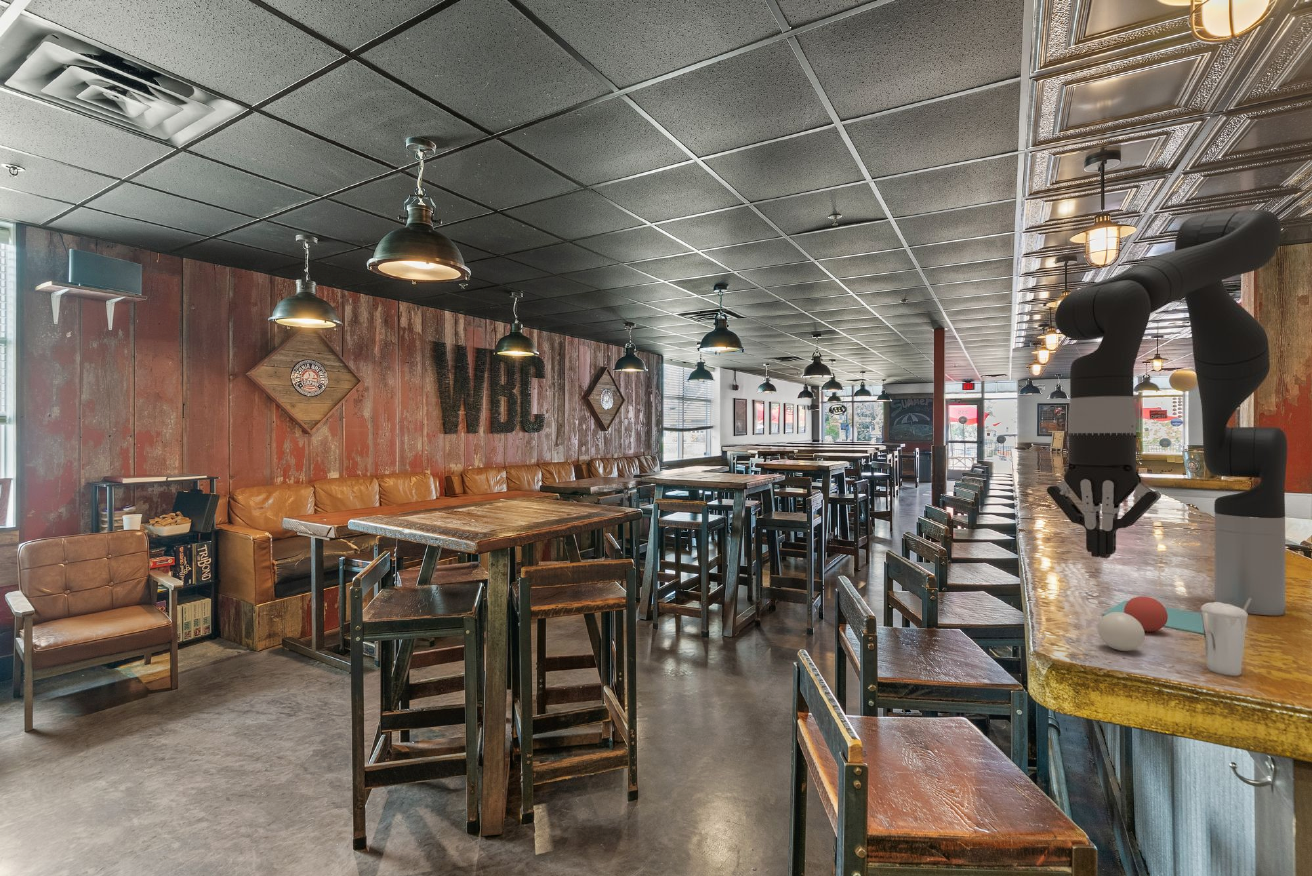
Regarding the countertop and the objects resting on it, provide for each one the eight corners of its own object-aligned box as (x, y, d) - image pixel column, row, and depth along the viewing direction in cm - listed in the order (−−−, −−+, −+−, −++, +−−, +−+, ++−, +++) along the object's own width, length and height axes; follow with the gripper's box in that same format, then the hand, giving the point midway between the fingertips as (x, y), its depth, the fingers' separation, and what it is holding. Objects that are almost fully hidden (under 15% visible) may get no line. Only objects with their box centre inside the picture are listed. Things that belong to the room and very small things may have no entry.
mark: (1124, 601, 115) (1124, 600, 115) (1224, 618, 104) (1224, 617, 104) (1102, 615, 106) (1102, 613, 106) (1209, 635, 95) (1209, 633, 95)
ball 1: (1108, 641, 92) (1108, 605, 92) (1151, 652, 87) (1151, 614, 87) (1090, 647, 90) (1090, 610, 90) (1133, 659, 85) (1133, 620, 85)
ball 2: (1133, 623, 101) (1133, 590, 101) (1174, 632, 96) (1174, 598, 96) (1117, 628, 98) (1117, 595, 98) (1158, 638, 94) (1158, 603, 94)
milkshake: (1264, 679, 78) (1264, 602, 78) (1216, 676, 79) (1216, 600, 79) (1238, 666, 82) (1238, 593, 82) (1192, 663, 83) (1192, 591, 83)
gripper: (1036, 431, 85) (1036, 553, 85) (1156, 430, 75) (1156, 568, 75) (1055, 431, 90) (1055, 546, 90) (1170, 430, 80) (1170, 561, 80)
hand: (1101, 556), depth 82 cm, fingers closed
